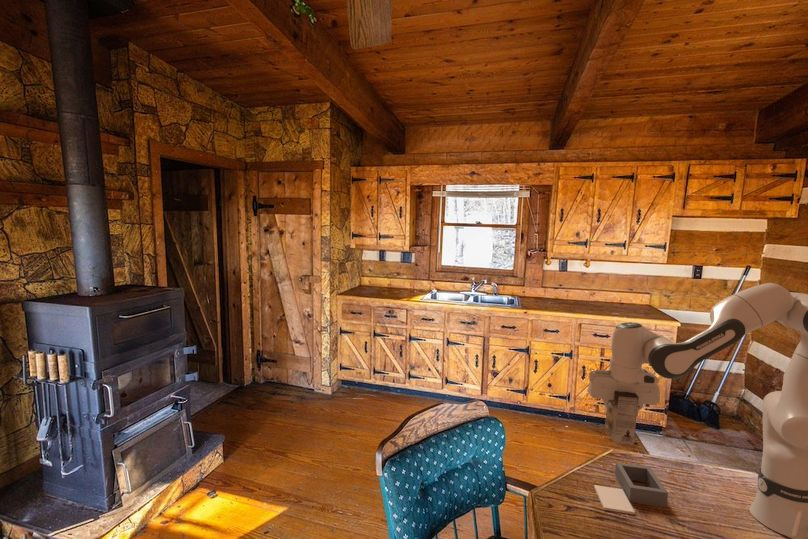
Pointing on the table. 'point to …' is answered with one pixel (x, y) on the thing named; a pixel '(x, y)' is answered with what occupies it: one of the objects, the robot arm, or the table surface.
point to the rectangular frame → (639, 493)
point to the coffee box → (622, 417)
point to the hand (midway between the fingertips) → (621, 413)
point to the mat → (613, 499)
